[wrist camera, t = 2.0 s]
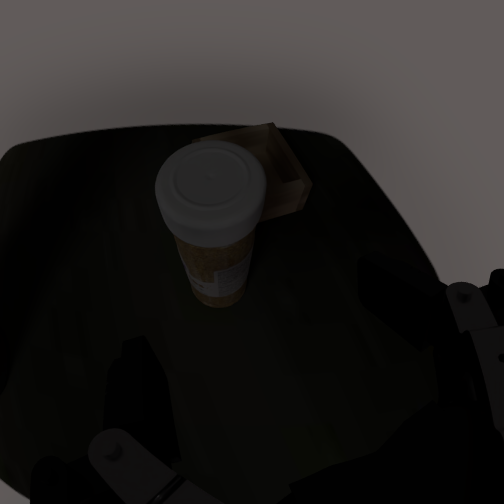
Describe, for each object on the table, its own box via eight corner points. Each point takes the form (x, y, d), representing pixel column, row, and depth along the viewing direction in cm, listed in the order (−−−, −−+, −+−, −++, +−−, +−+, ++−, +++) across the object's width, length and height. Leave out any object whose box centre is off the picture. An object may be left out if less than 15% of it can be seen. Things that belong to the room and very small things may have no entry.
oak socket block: (220, 234, 25) (219, 210, 21) (195, 168, 28) (191, 140, 24) (302, 209, 27) (312, 183, 23) (268, 149, 29) (273, 122, 26)
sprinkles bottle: (181, 273, 23) (137, 163, 11) (228, 246, 24) (230, 123, 12) (209, 320, 22) (183, 248, 10) (258, 291, 23) (291, 192, 11)
